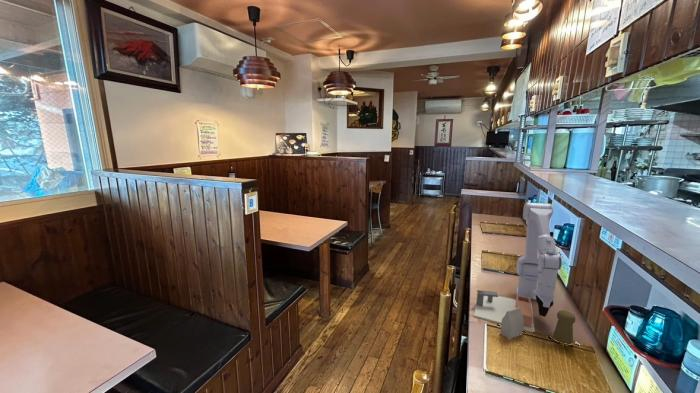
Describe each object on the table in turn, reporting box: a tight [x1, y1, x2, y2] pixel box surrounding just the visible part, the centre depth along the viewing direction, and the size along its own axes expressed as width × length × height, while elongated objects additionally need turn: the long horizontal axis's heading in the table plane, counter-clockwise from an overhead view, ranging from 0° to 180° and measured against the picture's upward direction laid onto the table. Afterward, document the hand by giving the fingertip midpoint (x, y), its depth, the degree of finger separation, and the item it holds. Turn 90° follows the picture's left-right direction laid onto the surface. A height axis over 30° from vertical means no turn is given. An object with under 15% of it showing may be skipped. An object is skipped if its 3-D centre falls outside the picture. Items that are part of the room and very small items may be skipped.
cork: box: [552, 310, 576, 344], centre depth 101 cm, size 6×6×11 cm
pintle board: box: [473, 289, 535, 333], centre depth 120 cm, size 22×21×6 cm
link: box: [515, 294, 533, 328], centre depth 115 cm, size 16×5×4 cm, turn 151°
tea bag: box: [500, 307, 524, 340], centre depth 104 cm, size 4×7×10 cm, turn 113°
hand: (542, 315), depth 113 cm, fingers closed
